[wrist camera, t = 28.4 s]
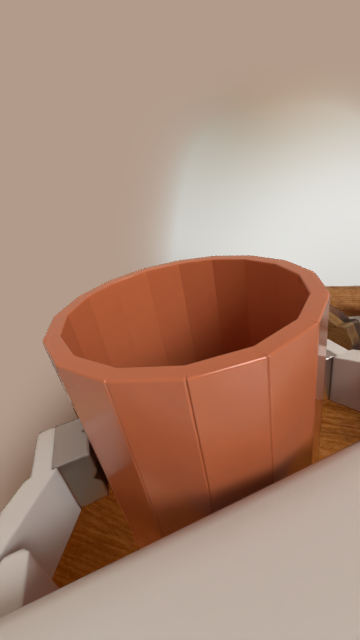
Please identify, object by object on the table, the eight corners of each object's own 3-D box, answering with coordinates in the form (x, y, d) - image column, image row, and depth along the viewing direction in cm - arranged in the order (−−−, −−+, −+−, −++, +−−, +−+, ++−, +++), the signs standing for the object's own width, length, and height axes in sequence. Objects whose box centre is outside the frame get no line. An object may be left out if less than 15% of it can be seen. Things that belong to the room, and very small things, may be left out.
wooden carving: (407, 401, 29) (429, 315, 24) (382, 424, 27) (400, 337, 23) (280, 341, 42) (279, 278, 38) (258, 354, 40) (253, 290, 36)
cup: (359, 570, 9) (419, 313, 5) (145, 656, 8) (-2, 433, 4) (258, 415, 15) (246, 244, 11) (131, 454, 14) (67, 286, 10)
